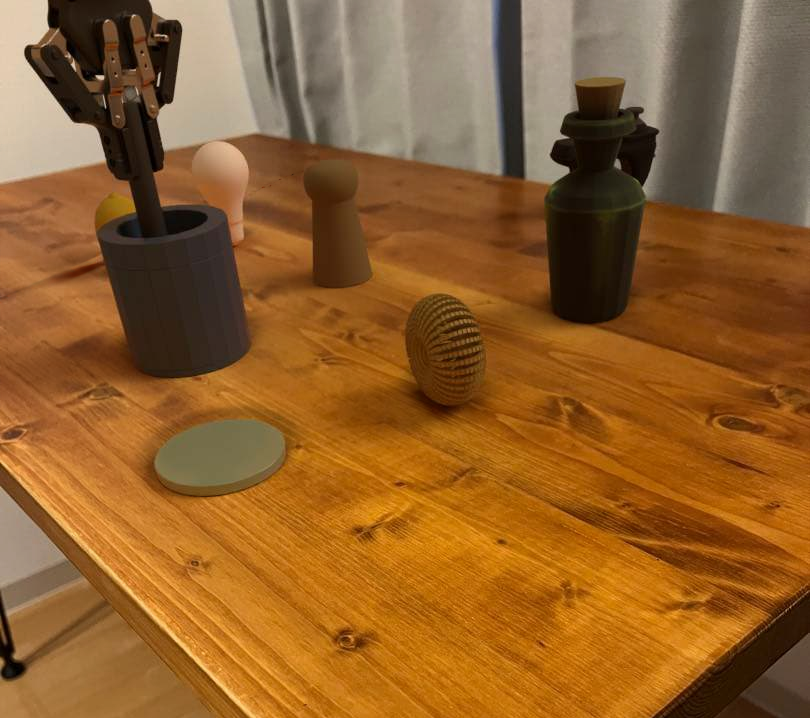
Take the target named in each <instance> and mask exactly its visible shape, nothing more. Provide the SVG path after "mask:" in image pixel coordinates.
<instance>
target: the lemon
mask: <svg viewBox="0 0 810 718" xmlns="http://www.w3.org/2000/svg"><path fill="white" fill-rule="evenodd" d="M133 212H136V209H135V205H134V201H133V199H131V198H130V197H127V196H125V195H120V194H119V193H117V192H116V191H115V192H110V193H109V194H108V196H107V197H106V198H104V199H103V200H102V201H100V203H99V204H98V206H97V207H96V210H95V214H94V230H95V235H96V239H97V242H98V243H99V241H98V238H97V232H98V230H99V229H100V227H101V226H103V225H105V224H106V223H108V222H109V221H111V220H113V219H116V218H119V217H121V216H124V215H126V214H130V213H133Z"/></svg>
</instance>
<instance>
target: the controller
mask: <svg viewBox="0 0 810 718" xmlns="http://www.w3.org/2000/svg"><path fill="white" fill-rule="evenodd" d="M624 109H625V110H629V111H631V112H632V113H633V115H634V119H635V123H636V128H637V129H636V130H635V131H634V132H632V133H630V134H628V135H626V136H624V137H622V141H621V144H620V147H619V151H618V154H617V157H616V160H618V161H619V165H620V170H622V171H623V172H625V173H627V174H628V175H630V176H632V177H633V178H635V179H636V180H637V181H638V182H639V183H640V184H641V187H642V188H643V187H644V185H645V183H647V180H648V178H649V175H650V173H651V169H652V165H653V161H654V158H655V157H656V150H657V146H658V144H657V143H658V142H657V136H658V135H659V134H660V130H659V129H658V128H656V127H655V126H650V125H648V124H647V123H646V122H645V121H643V119H642V118H640V115H642V114H644V112H645V109H644V107H643V106H628V107H626V108H624ZM550 151H551V152H549V158H550V159H551V160H552V161H553V162H554V163H556V164H557V165H560V166H562V167H566V168H568V169H569V173H570V172H571V171H573V170H574V169H576V168H578V163H577V158H576V153H575V148H574V144H573V139H571V138H569V137H567V138H561V139H556V140H555V142H554V143H553V145H552V148H551V150H550Z"/></svg>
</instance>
